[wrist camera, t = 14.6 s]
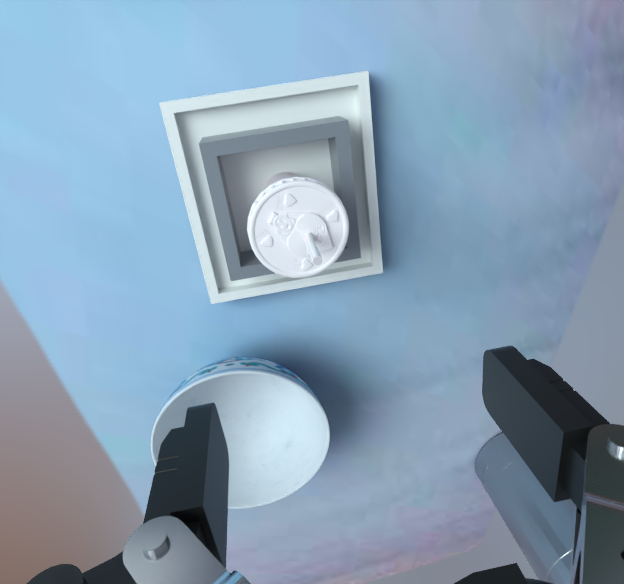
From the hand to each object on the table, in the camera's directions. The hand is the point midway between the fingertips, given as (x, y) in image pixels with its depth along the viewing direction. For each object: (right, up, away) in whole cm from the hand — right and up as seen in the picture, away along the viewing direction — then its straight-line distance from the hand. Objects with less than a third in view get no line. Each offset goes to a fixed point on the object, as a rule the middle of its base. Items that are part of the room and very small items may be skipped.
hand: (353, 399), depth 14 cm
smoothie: (-3, +11, +24) cm, 27 cm away
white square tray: (-4, +12, +25) cm, 28 cm away
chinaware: (-8, -6, +33) cm, 34 cm away
